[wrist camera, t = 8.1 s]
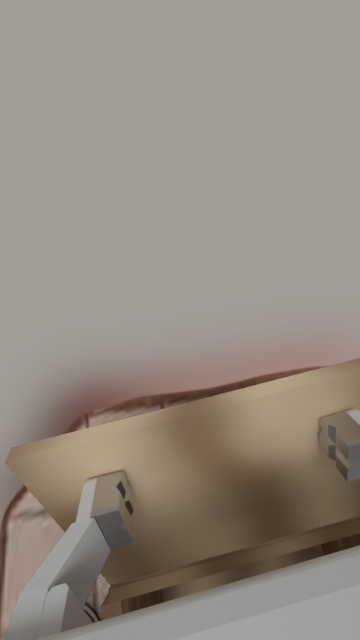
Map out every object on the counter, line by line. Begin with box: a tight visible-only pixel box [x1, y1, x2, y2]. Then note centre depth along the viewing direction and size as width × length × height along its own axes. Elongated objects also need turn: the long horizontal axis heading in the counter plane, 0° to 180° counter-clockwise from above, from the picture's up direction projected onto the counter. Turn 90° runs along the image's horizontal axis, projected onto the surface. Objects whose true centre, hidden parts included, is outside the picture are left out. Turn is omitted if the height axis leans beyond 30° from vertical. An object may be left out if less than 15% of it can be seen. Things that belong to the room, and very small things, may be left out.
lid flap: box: [5, 358, 360, 585], centre depth 13 cm, size 16×12×1 cm
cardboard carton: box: [101, 516, 360, 620], centre depth 19 cm, size 17×12×12 cm
